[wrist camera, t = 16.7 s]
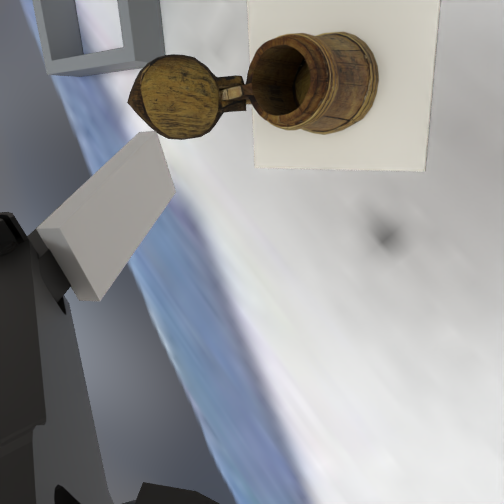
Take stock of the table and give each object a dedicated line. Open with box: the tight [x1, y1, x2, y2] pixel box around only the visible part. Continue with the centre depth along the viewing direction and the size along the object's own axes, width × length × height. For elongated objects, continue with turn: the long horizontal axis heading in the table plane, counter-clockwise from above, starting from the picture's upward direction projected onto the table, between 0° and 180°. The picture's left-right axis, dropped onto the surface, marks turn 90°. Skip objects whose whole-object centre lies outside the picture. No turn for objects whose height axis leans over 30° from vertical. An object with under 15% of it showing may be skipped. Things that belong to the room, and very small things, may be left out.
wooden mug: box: [127, 32, 379, 140], centre depth 32 cm, size 9×14×18 cm, turn 99°
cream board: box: [247, 0, 441, 172], centre depth 38 cm, size 18×18×1 cm
